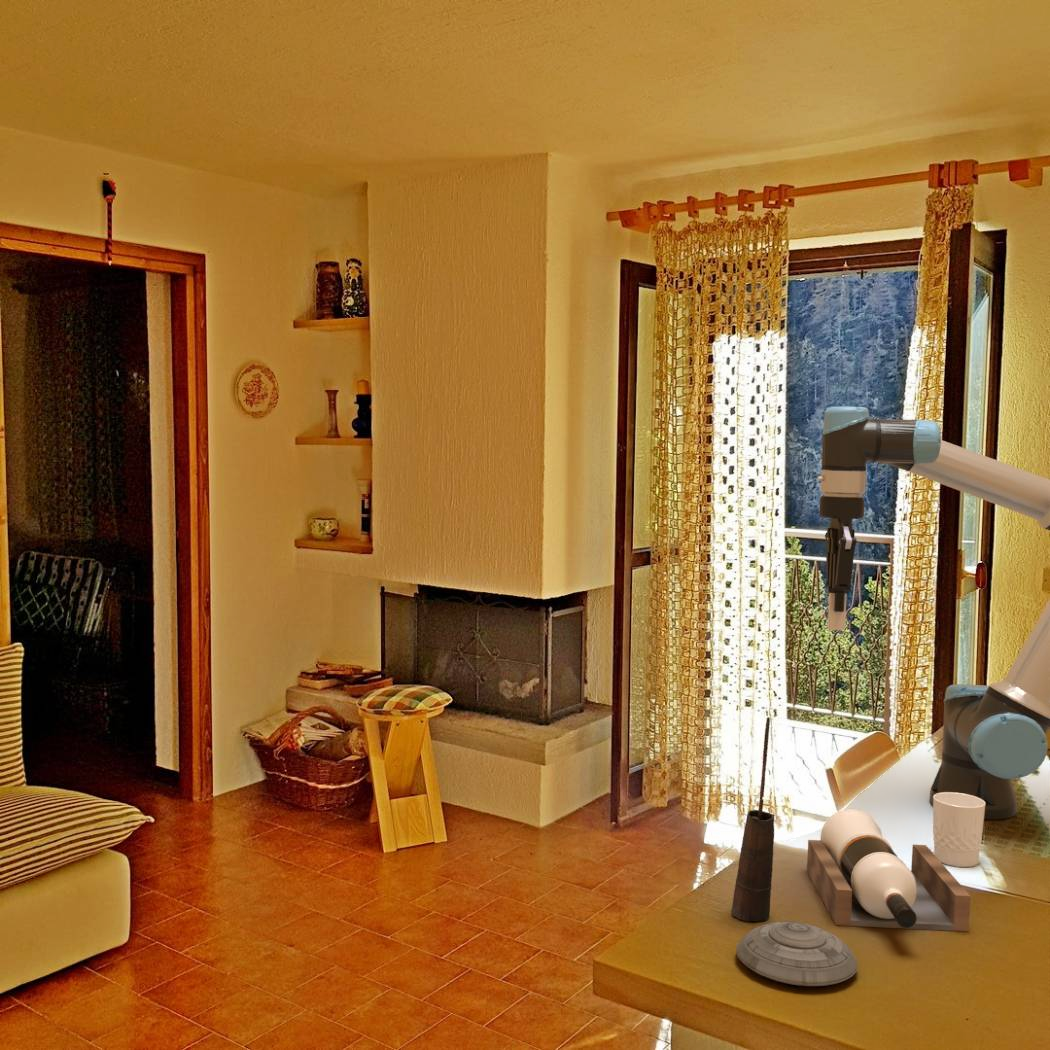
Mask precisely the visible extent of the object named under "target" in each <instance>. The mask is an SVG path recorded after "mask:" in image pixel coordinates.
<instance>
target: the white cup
mask: <svg viewBox="0 0 1050 1050" xmlns="http://www.w3.org/2000/svg"><path fill="white" fill-rule="evenodd" d="M985 804H986V803H985V801H984V800H982V799H980V798H978V797H975V796H972V795H968V794H963V793H954V792H943V793H937V794H935V795H934V796H933V805H932V816H933V817H932V831H933V839H932V840H933V845H934V851H933V852H934V853H933V854H934V855H935V856H936V857H937V858H938V860H939V861H940V862H941V863H942V864H943V865H948V866H951V867H952V866H953V867H955V868H956V867H958V868H970V867H972V868H973V867H975V866H977V865H978V864H979V861H980V860H979V859H980V849H981V847H982V841H983V840H982V839H983V832H984V831H983V830H984V823H985V819H984V814H985Z"/></svg>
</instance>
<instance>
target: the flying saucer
mask: <svg viewBox="0 0 1050 1050" xmlns="http://www.w3.org/2000/svg"><path fill="white" fill-rule="evenodd" d="M735 951H736V952H735V953H736V955H737V957H738V959H739V960H740V961H741V962H742V963H743V964H744V966H746V967H747V968H749V969H750V970H752V971H753V972H755V973H756V974H759V975H760V976H763V977H765V978H767V979H770V980H773V981H776V982H780V983H783V984H789V985H794V986H795V985H796V986H802V987H824V986H830V985H831V986H832V985H837V984H839V983H841V982H842V983H843V982H844V981H847V980H848V979H850V978H851V977H853V976H854V975H855V974H856V973H857V972H858V969H859V962H858V960H857V958H856V956H855V955H854V952H853V951H852V950H851V949H850V947H848V945H847V944H846V943H845V942H844V941H843V940H842V939H840V937H838V936H836V935H835V934H833V933H831V932H830V931H828V930H826V929H824V928H822V927H819V926H817V925H813V924H810V923H807V922H801V921H791V920H790V921H789V920H787V921H784V920H782V921H773V922H770V923H765V924H762V925H759V926H756V927H754V928H753V929H751V930H750V931H748V932H747V933H746V934H745V935H743V937H742V938H741V939H740V940H739V941H738V943H737V945H736V948H735Z"/></svg>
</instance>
